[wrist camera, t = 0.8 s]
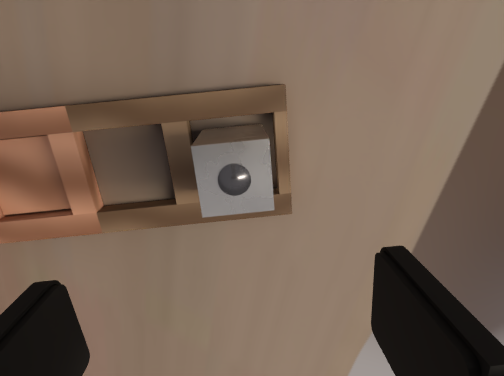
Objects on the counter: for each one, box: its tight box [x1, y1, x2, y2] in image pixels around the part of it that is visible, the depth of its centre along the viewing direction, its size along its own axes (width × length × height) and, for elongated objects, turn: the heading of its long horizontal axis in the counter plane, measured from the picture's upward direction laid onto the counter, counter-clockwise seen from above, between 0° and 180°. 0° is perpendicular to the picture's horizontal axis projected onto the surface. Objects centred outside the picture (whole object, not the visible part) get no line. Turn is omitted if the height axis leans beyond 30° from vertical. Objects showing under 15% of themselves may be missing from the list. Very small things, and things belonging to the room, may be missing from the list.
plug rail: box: [0, 84, 292, 243], centre depth 26 cm, size 11×27×2 cm, turn 95°
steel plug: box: [191, 124, 274, 218], centre depth 23 cm, size 5×5×7 cm
